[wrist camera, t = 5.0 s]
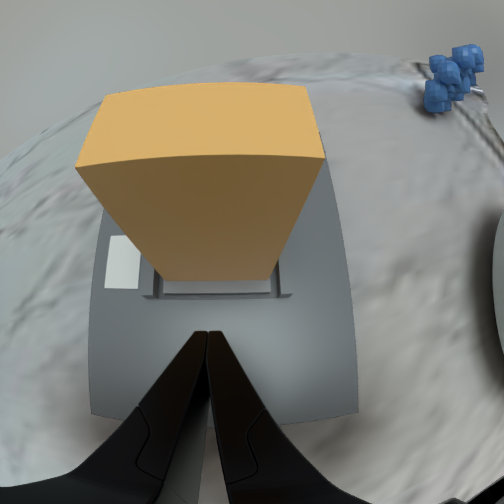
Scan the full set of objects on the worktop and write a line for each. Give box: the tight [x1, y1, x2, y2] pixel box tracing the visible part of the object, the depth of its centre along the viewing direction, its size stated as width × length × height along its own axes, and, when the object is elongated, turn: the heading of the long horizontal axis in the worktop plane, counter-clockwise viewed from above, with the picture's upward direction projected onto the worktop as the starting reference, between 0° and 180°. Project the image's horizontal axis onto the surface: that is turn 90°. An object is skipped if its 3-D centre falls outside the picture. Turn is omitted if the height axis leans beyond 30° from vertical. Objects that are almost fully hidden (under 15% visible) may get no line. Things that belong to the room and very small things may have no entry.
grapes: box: [423, 44, 484, 113], centre depth 20 cm, size 12×7×12 cm, turn 122°
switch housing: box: [88, 132, 358, 428], centre depth 15 cm, size 18×14×4 cm
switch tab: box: [75, 82, 325, 294], centre depth 9 cm, size 4×5×9 cm
